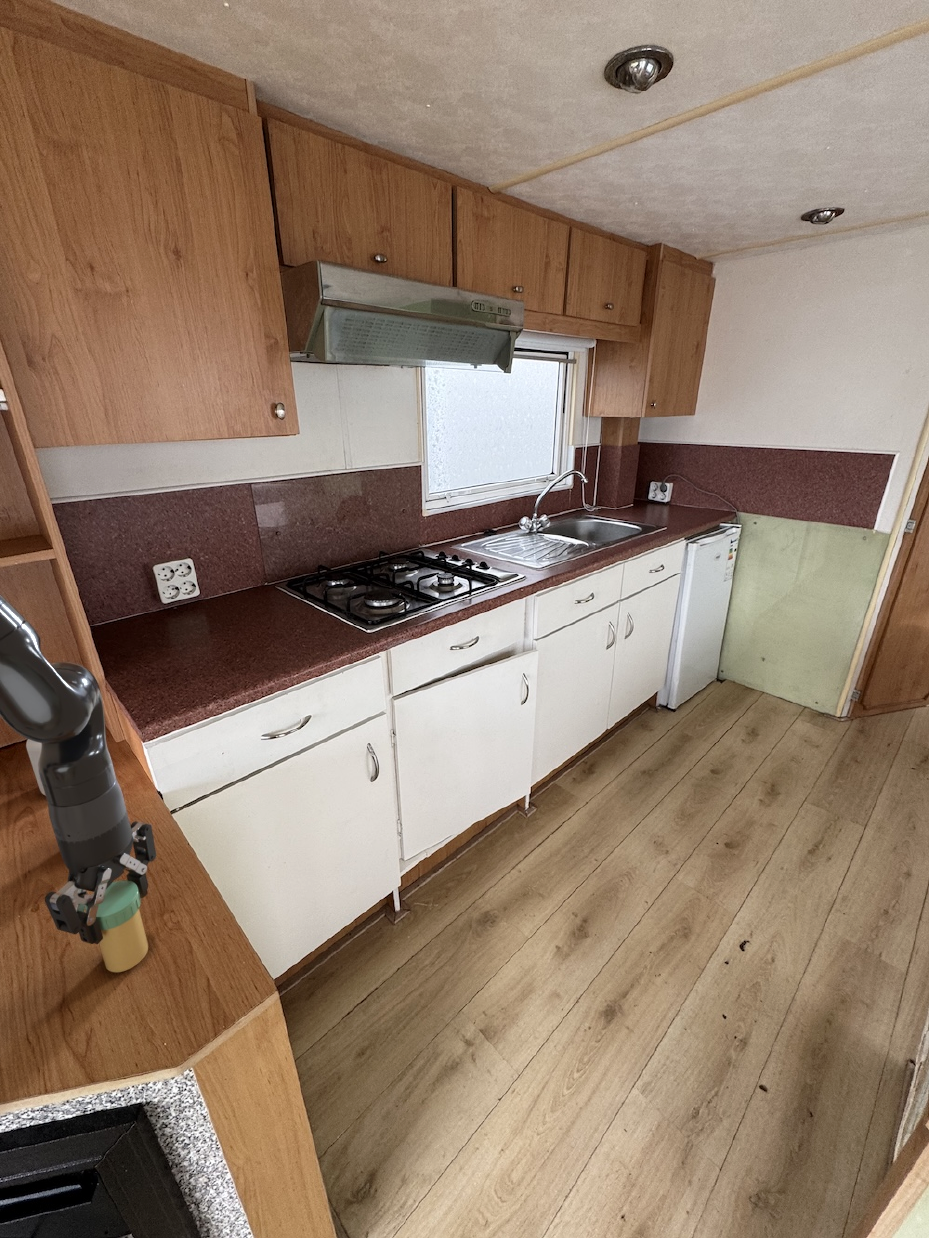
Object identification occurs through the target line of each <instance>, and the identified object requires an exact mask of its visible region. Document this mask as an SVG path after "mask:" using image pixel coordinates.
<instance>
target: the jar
mask: <svg viewBox="0 0 929 1238" xmlns="http://www.w3.org/2000/svg"><path fill="white" fill-rule="evenodd" d="M143 922H144V921H143V917H142V914H141V909H140V908H139V909H138V911H137V912H136V913H135V915H134V916H133V917H132V918H130V919H129V920H128V921H126V922H125V923H123V924H122V925H120V926H117V927H115V928H112V929H108V930H101V932H102V936H103V939H102V940H101V941H100V943H99V944H98V945H99V948H100V949H99V950H100V952H101V956H102V959H103V963H104V966H105V969H106V970H108V971H109V972H111V973H122V972H125V971H128V970H130V969H132V968H134V967H135V966H137V965H138V964H140V962H141V961H143V959H144V958H145V957H146V955H147V954H148V950H149V941H148V938H147V935H146V930H145V927H144V923H143Z"/></svg>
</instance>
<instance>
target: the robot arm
mask: <svg viewBox="0 0 929 1238" xmlns="http://www.w3.org/2000/svg"><path fill="white" fill-rule="evenodd" d="M25 618H26V617H24V616H23V615H22V614H21V613H20V612H19V611H18V610H17V609H16V608H15V607H14V606H13V605H12V604H11V603H10V602H9V601H8V600H7V599H6V598H5V597H4V596H3V595H2V594H1V593H0V718H1V719H2V720H3V722H4V723H5V724H6V725H8V727H10V728H11V729H12V730H13V731H15V732H16V733H17V734H18V735H20V736H22V737H23V738H25V739H27V740H28V739H30V740H32V741H35V742H39V743H41V745H42V746H41V753H40V757H39V762H38V768H39V775H40V779H41V782H42V785H43V788H44V792H45V795H46V796H45V795H44V796H45V798H46V802H47V808H48V809H47V810H48V817H49V820H50V824H51V827H52V830H53V834H54V836H55V840H56V843H57V846H58V850H59V853H60V856H61V859H62V861H63V864H64V865H65V866H66V868H67V869H68V870H67V871H68V875H67V882H66V884H65V885H63V886H62V887H61V888H59V890H58V891H57V892H56V891H53V890H52V891H49V892H48V893H47V894H46V895H45V896H44V903H45V905H46V907H47V910H48V911H49V914H50V916H51V918H52V920H53V922H54V925H55V928H56V929H57V930H58V931H61V932H65V933H68V934H71V935H77V934H78V935H79V938H80V940H81V942H83V943H86V944H90V945H99V943H100V941H101V940H102V939H103V936H102V932H101V929H100V926H99V922H98V919H96V915H97V911H98V906H99V905H100V904H101V903H102V902H103V899H104V895H105V891H106V889H107V888H108V887H109V886H110V885H111V884H112V882H115V881H116V880H117V879H118V878H120V877H121V876H122V875H123V874H124V873H125V871H126V872H128V873H127V874H126V880H128V881H132V882H134V883H135V884H136V885H137V888H138V890H139V894H140V899H144V898H145V897H146V896H147V895H148V893H149V892H148V889H149V881H148V877H147V873H146V872H147V871H148V865H149V863H150V862H151V863H152V862H154V861H155V860H156V857H157V851H156V850H157V849H156V846H155V845H156V844H155V839H154V833H153V826H152V824H150V823H146V822H142V821H136V820H135V821H133V822H131V821H130V819H129V818H130V817H129V814H128V810H127V806H126V802H125V798H124V795H123V791H122V789H121V786H120V784H119V782H118V779H117V776H116V773H115V768H114V765H113V761H112V757H111V754H110V751H109V748H108V744H107V738H106V722H105V712H104V711H105V710H104V703H103V702H104V701H103V696H102V691H101V688H100V685H99V682H98V680H97V679H96V677H95V675H94V674H93V673H92V672H91V671H90V670H89V669H87V668H86V667H85V666H83V665H81V664H78V663H75V662H71V661H57V662H52V663H50V662H49V661H48V659H47V658H46V657H45V656H44V655H43V652H42V650H41V649H42V648H41V637H40V634H39V633H38V631H37V630H36V628H34V626H33V625H32V624H31V623H30V622H29V621H28V620H27V619H25ZM130 822H131V823H130ZM132 848H133V851H134V857H135V858H134V857H133V856H131V853H132ZM87 891H88V892H93V894H94V895H93V894H89V893H88V892H87ZM85 906H87V912H86V910H85Z"/></svg>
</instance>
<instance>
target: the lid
mask: <svg viewBox="0 0 929 1238" xmlns="http://www.w3.org/2000/svg"><path fill="white" fill-rule="evenodd" d="M92 895H94V893H92ZM141 899H142V898H140V894H139V890H138V888H137V885H136V884H135V883H134V882H132V881H128V880H127V879H123V880H122V879H121V880H117V881H116V880H115V881H113V882H112V884H111V885H110V886H109V887H108V888H107V889H106V891H105V895H104V899H103V902H102V903H101V904H100V905H99V906H98V911H97V915H96V919H98V922H99V926H100V929H101V930H108V929H112V928H115V927H117V926H120V925H122V924H123V923H125V922H126V921H128V920H129V919H130V918H132V917H133V916H134V915H135V913H136V912H137V911H138V909H140V907H141V903H142V900H141ZM84 911H85V913H86V912H87V906H86V905H85V910H84Z"/></svg>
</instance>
